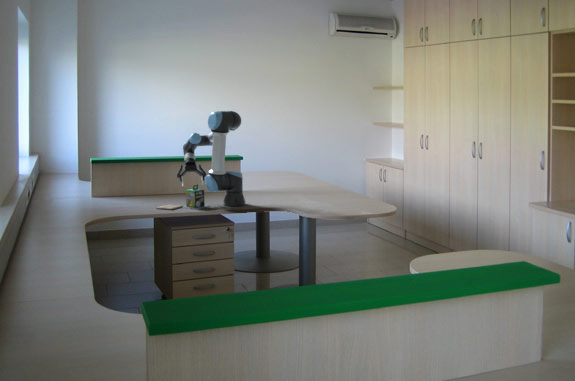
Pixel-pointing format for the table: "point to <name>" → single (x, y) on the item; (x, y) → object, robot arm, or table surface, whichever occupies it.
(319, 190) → the table surface
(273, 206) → the table surface
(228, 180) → the robot arm
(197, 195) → the chalk box
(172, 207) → the walnut board
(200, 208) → the plate
